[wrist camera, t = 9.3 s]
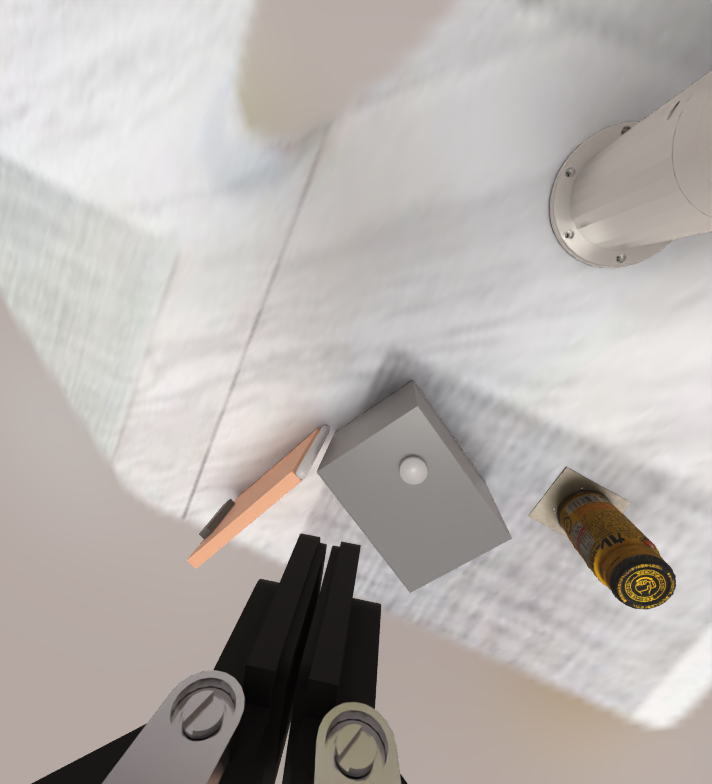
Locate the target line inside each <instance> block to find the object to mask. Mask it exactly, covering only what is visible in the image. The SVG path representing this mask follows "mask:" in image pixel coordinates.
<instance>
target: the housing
mask: <svg viewBox="0 0 712 784" xmlns="http://www.w3.org/2000/svg"><path fill="white" fill-rule="evenodd" d="M317 473H318V475H319V476H320V477H321V478H322V480H323V481H324V482H325V484H326V485H327V486H328V487H329V489H330V490H331V491H332V493H333V494H334V495H335V497H336V498H337V499H338V500H339V502H340V503H341V504H342V506H343V507H344V508H345V509H346V511H347V512H348V513H349V515H350V516H351V517H352V518H353V520H354V521H355V522H356V524H357V525H358V526H359V528H360V529H361V530H362V531H363V533H364V534H365V535H366V537H367V538H368V539H369V540H370V542H371V543H372V544H373V546H374V547H375V548H376V549H377V551H378V552H379V553H380V555H381V556H382V557H383V558H384V560H385V561H386V562H387V564H388V565H389V566H390V568H391V569H392V570H393V571H394V573H395V574H396V575H397V577H398V578H399V579H400V580H401V582H402V583H403V584H404V586H405V587H406V588H407V589H408V591H409V592H410V593H411V592H412V591H414V590H416V589H418V588H420V587H422V586H424V585H426V584H427V583H429V582H431V581H433V580H435V579H437V578H439V577H441V576H442V575H444V574H446V573H448V572H450V571H452V570H454V569H456V568H457V567H459V566H461V565H463V564H465V563H467V562H469V561H471V560H472V559H474V558H476V557H478V556H480V555H482V554H484V553H486V552H487V551H489V550H491V549H493V548H495V547H497V546H499V545H501V544H502V543H504V542H506V541H508V540H510V539H512V538H511V536H510V534H509V531H508V529H507V527H506V525H505V523H504V521H503V519H502V517H501V514H500V512H499V510H498V508H497V506H496V504H495V502H494V500H493V498H492V495H491V493H490V491H489V489H488V487H487V485H486V483H485V481H484V480H483V479H482V477H481V476H480V474H479V473H478V472H477V470H476V469H475V467H474V466H473V464H472V463H471V462H470V460H469V459H468V457H467V456H466V455H465V453H464V452H463V450H462V449H461V447H460V446H459V445H458V443H457V442H456V440H455V439H454V438H453V436H452V435H451V433H450V432H449V430H448V429H447V428H446V426H445V425H444V423H443V422H442V421H441V419H440V418H439V416H438V415H437V414H436V412H435V411H434V409H433V408H432V406H431V405H430V404H429V402H428V401H427V399H426V398H425V397H424V395H423V394H422V392H421V391H420V389H419V388H418V387H417V385H416V384H415V382H414V381H413V380H412V381H411V382H409V383H408V384H406V385H405V386H403V387H402V388H400V389H399V390H397V391H396V392H394V393H393V394H391V395H390V396H388V397H387V398H385V399H384V400H382V401H381V402H379V403H378V404H376V405H375V406H373V407H372V408H370V409H369V410H367V411H366V412H364V413H363V414H361V415H360V416H358V417H357V418H355V419H354V420H352V421H351V422H349V423H348V424H346V425H345V426H344V427H342V428H341V429H339V430H338V431H336V432H335V433H334V435H333V438H332V440H331V442H330V444H329V446H328V448H327V450H326V453H325V455H324V457H323V459H322V461H321V463H320V466H319V468H318V470H317Z"/></svg>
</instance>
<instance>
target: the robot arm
mask: <svg viewBox="0 0 712 784" xmlns="http://www.w3.org/2000/svg"><path fill="white" fill-rule="evenodd" d="M621 133H623V135H621ZM565 173H569V177H567V176H566V174H565ZM550 218H551V223H552V227H553V230H554V233H555V235H556V237H557V239H558V241H559V242H560V244H561V245H562V246H563V248H564V249H565V250H566V251H567V252H568V253H569V254H570V255H572V256H573V257H574V258H576V259H577V260H579V261H581V262H584V263H586V264H588V265H592V266H596V267H604V268H615V267H623V266H627V265H631V264H635V263H638V262H641V261H643V260H645V259H647V258H650V257H651V256H653V255H654V254H656V253H657V252H659V251H660V250H662V249H663V248H664V247H665V246H666V245H667V244H669V243H670V242H671V241H672V240H673V239H678V238H683V237H688V236H692V235H697V234H702V233H707V232H711V231H712V70H711V71H710V72H708V73H707V74H706V75H704V76H703V77H702V78H700V79H699V80H697V81H696V82H695V83H693V84H692V85H691V86H689V87H688V88H686V89H685V90H684V91H682V92H681V93H679V94H678V95H677V96H675V97H674V98H673V99H671V100H670V101H668V102H667V103H666V104H664V105H663V106H661V107H660V108H659V109H657V110H656V111H655V112H653V113H652V114H650V115H649V116H648V117H646V118H645V119H643V120H642V121H641V122H625V123H620V124H615V125H613V126H610V127H608V128H605V129H603V130H601V131H599V132H598V133H596V134H594V135H593V136H591V137H590V138H588V139H587V140H586V141H585V142H583V143H582V144H581V145H580V146H579V147H578V148H577V149H576V150H575V151H574V152H573V153H572V154H571V155H570V156H569V157H568V159H567V160H566V162H565V163H564V164H563V166H562V167H561V169H560V171H559V173H558V175H557V177H556V179H555V182H554V185H553V189H552V193H551V198H550ZM565 233H567V234H568V238H565ZM617 257H618V258H619V260H618V261H617V260H616V258H617ZM326 547H327V544H323V543H320V537H316V536H311V535H306V534H300V536H299V538H298V540H297V543H296V545H295V548H294V550H293V552H292V555H291V557H290V560H289V562H288V564H287V567H286V569H285V572H284V574H283V576H282V579H281V581H280V583H278V582H273V581H268V580H264V579H260V580H259V581H258V582H257V584H256V586H255V588H254V590H253V592H252V594H251V596H250V598H249V600H248V602H247V604H246V606H245V608H244V610H243V612H242V614H241V616H240V618H239V620H238V622H237V624H236V626H235V628H234V630H233V632H232V634H231V636H230V638H229V640H228V642H227V644H226V646H225V648H224V650H223V652H222V654H221V656H220V658H219V660H218V662H217V664H216V666H215V668H214V670H213V671H203V672H200V673H197V674H194V675H191V676H190V677H188V678H187V679H185V680H183V681H182V682H180V683H179V684H178V685H177V686H176V687H175V688H174V689H173V690H172V692H171V693H170V694H169V695H168V696H167V698H166V699H165V700H164V702H163V703H162V705H161V706H160V707H159V708H158V710H157V711H156V712H155V714H154V715H153V716H152V718H151V719H150V720H149V722H148V723H147V724H145V725H143V726H141V727H139V728H137V729H135V730H133V731H132V732H130V733H128V734H126V735H124V736H122V737H120V738H118V739H116V740H114V741H112V742H110V743H109V744H107V745H105V746H103V747H101V748H99V749H97V750H95V751H93V752H91V753H89V754H87V755H85V756H84V757H82V758H80V759H78V760H76V761H74V762H72V763H70V764H68V765H66V766H64V767H62V768H61V769H59V770H57V771H55V772H53V773H51V774H49V775H47V776H46V777H43V778H41V779H39V780H38V781H36V782H34V783H32V784H275V780H276V777H277V773H278V769H279V765H280V761H281V757H282V753H283V750H284V746H285V741H286V738H287V734H288V730H289V726H290V732H289V739H288V746H287V753H286V760H285V767H284V774H283V781H282V784H407V782H406V781H405V780H404V778H403V777H402V775H401V774H400V770H399V763H398V754H397V746H396V742H395V739H394V735H393V731H392V729H391V728H390V726H389V724H388V722H387V721H386V719H385V718H384V717H383V716H382V715H381V714H380V713H379V712H378V711H377V710H375V699H376V682H377V666H378V649H379V634H380V617H381V604H379V603H374V602H369V601H364V600H360V599H355V598H353V591H354V585H355V579H356V572H357V566H358V560H359V553H360V547H361V545H356V544H351V543H346V542H341V545H340V547H338V546H332V550H331V553H330V557H329V561H328V564H327V568H326V572H325V576H324V579H323V583H322V587H321V581H322V574H323V567H324V561H325V554H326ZM320 587H321V590H320ZM290 722H291V725H290Z"/></svg>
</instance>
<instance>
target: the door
mask: <svg viewBox="0 0 712 784" xmlns="http://www.w3.org/2000/svg"><path fill="white" fill-rule="evenodd" d="M329 431H330V428H329V427H328V426H326V425H324V426H322V428H321V430H320V429H319V428H317V429H316V430H315V431H314V432H313V433H312V434H311V435H309V436H308V437H307V438H306V439H305V440H304V441H302V442H301V443H300V444H299V445H298V446H297V447H296V448H294V449H293V450H292V451H291V452H290V453H289V454H287V455H286V456H285V457H284V458H283V459H282V460H281V461H279V462H278V463H277V464H276V465H275V466H274V467H272V468H271V469H270V470H269V471H268V472H267V473H265V474H264V475H263V476H262V477H261V478H260V479H259V480H257V481H256V482H255V483H254V484H253V485H252V486H250V487H249V488H248V489H247V490H246V491H245V492H244V493H242V494H241V495H240V496H239V497H238V498H237V499H236V500H235V501H234V502H233V501H232V500H231V499H230V500H228V501H227V502H226V503H225V504H224V505H223V506H222V507H221V508H220V510H219V511H218V512H217V513H216V514H215V516H214V517H213V518H212V519H211V520H210V522H209V523H208V524H207V525H206V526H205V527H204V529H203V530H202V531H201V532H200V533H199V535H200V536H202V538H204V540H203V541H202V542H201V543H200V545H199V546H198V547H197V548H196V550H195V551H194V552H193V554H192V555H191V556H190V557H189V558H188V560H187V561H188V562H189V563H190V564H191V565H193V566H194V567H195V568H198V567H199V566H200V565H201V564H202V563H204V562H205V561H206V560H207V559H208V558H209V557H211V556H212V555H213V554H214V553H216V552H217V551H218V550H219V549H220V548H222V547H223V546H224V545H225V544H226V543H228V542H229V541H230V540H231V539H232V538H234V537H235V536H236V535H237V534H238V533H240V532H241V531H242V530H243V529H244V528H246V527H247V526H248V525H249V524H250V523H252V522H253V521H254V520H255V519H256V518H258V517H259V516H260V515H261V514H262V513H264V512H265V511H266V510H267V509H268V508H270V507H271V506H272V505H273V504H274V503H276V502H277V501H278V500H279V499H280V498H282V497H283V496H284V495H285V494H286V493H288V492H289V491H290V490H291V489H292V488H294V487H295V486H296V485H297V484H298V483H300V482H301V481H302V479H304V478H305V477H306V476H307V474H308V472H309V470H310V468H311V466H312V464H313V462H314V460H315V458H316V457H317V455H318V453H319V451H320V449H321V447H322V445H323V443H324V441H325V439H326V437H327V435H328V433H329Z"/></svg>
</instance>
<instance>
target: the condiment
mask: <svg viewBox="0 0 712 784" xmlns="http://www.w3.org/2000/svg"><path fill="white" fill-rule="evenodd" d="M581 488H583V489H581ZM629 504H630V502H629V501H627V500H625V499H623V498H621V497H620V496H618V495H616V494H614V493H612V492H611V491H609V490H607V489H605V488H603V487H602V486H600V485H598V484H596V483H594V482H592V481H590V480H589V479H587V478H585V477H583V476H582V475H580V474H578V473H576V472H574V471H572V470H570V469H569V468H566V469H565V470H564V472H563V473H562V474H561V475H560V476H559V477H558V479H557V480H556V481H555V483H554V484H553V485H552V486H551V487H550V489H549V490H548V491H547V493H546V494H545V495H544V496H543V498H542V499H541V501H540V502H539V503H538V505H537V506H536V507H535V509H534V510H533V511H532V513H531V514H530V515H529V517H531V518H533V519H534V520H536V521H538V522H540V523H542V524H543V525H546V526H548V527H549V528H551V529H553V530H555V531H557V532H559V533H561V534H562V535H564V536H566V537H568V538H569V540H570V541H571V542H572V544H573V546H574V548H575V549H576V550H577V551H578V552H579V554H580V555H581V556H582V558H583V559H584V561H585V562H586V564H587V566H588V567H589V569H591V570H592V571H593V573H594V575H595V576H596V577H597V578H598V580H599V581H600V582H602V583H603V584H604V585H606V586H607V587H608V588H609V589H610V590H611V591H612V593H613V594H614V595H615V597H616V598H617V599H618V600H619V601H621V602H622V603H624V604H625V605H627V606H630V607H632V608H635V609H650V608H654V607H657V606H659V605H661V604H663V603H665V602H666V601H667V600H668V599H669V598H670V597H671V595H673V592H674V590H675V587H676V580H675V574H674V573H673V570H672V568H671V567H670V566H669V565H668V564H667V563H666V562H665V561H664V560H663V559H662V557H661V556H660V554H659V551H658V549H657V548H656V546H655V545H654V544H653V543H652V542H651V541H650V540H649V539H648V538H647V537H646V536H645V535H644V534H643V533H642V532H641V531H640V530H639V529H638V528H637V527H636V526H635V525H634V524H633V523H632V522H631V521H630V520H629V519H627V518H626V517H625V516H624V515H623V514H622V513H623V512H624V510H625V509H626V508H627V507H628V506H629ZM553 508H555V511H556V514H555V511H554V510H553Z"/></svg>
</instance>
